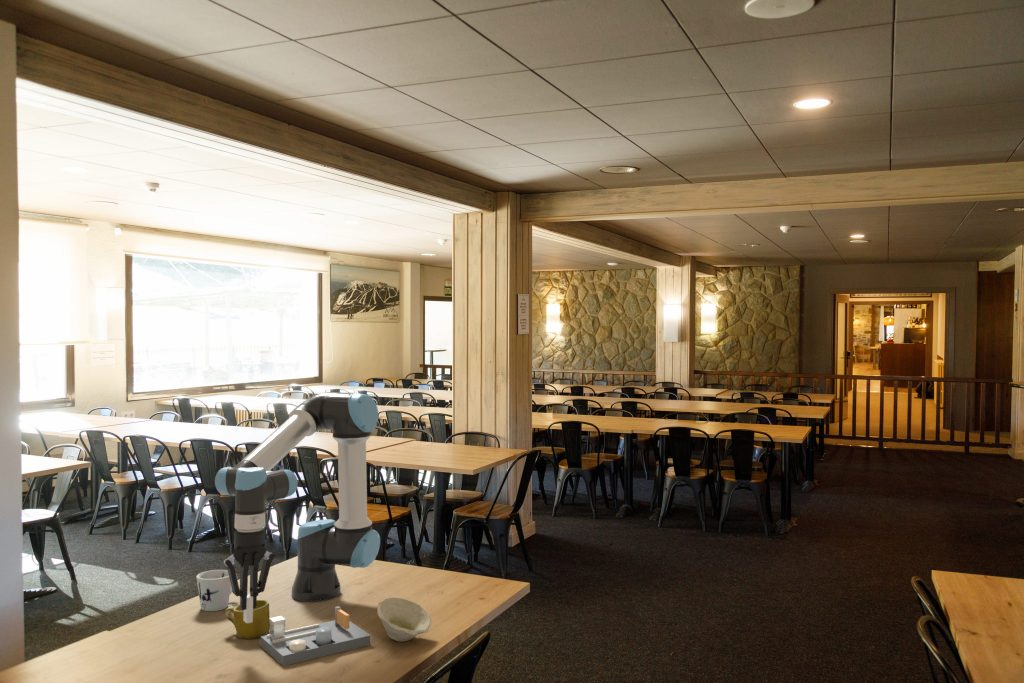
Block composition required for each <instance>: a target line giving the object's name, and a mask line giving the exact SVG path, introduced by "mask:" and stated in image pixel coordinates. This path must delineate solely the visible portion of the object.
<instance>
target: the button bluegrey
mask: <svg viewBox="0 0 1024 683" xmlns="http://www.w3.org/2000/svg"><path fill="white" fill-rule="evenodd" d="M331 642H332V629H331V628H328V627H323V628H318V629H317V630H316V645H319V646H323V645H327V644H331Z"/></svg>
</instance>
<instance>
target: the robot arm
mask: <svg viewBox="0 0 1024 683" xmlns="http://www.w3.org/2000/svg"><path fill="white" fill-rule="evenodd" d="M378 422H379V409H378V406H377V404H376V401H375V400H374V398H373V397H371V396H370V395H369V394H365V393H359V392H333V391H332V392H330V391H326V392H325V391H324V392H321V393H318V394H316V395H313V396H311V397H309V398H308V399H306V400H305V401H303V402H302V403H299V405H297V406H296V407H295V408H294V409H293V410H292V411H291V412H289V415H288V418H287V419H286V420H285V421H284V422H283V423H282V424H281V425H280V426H279V427H277V428H276V429H275V430H274V431H273V432H272V433H271V434H269V436H267V437H266V438H265V439H264V440H263V441H261V442H260V443H259V444H258V445H257V446H256V447H255V448H253V450H251V451H250V452H249V453H248V454H247V455H246V456H245V457H243V458H242V460H241V461H239V462H238V463H237V464H236V465H235V466H226V467H222V468H220V469H219V470H218V471H217V473H216V475H215V477H214V487H215V488H216V490H217V492H218V493H219V494H223V495H227V496H230V497H234V500H235V501H234V529H235V530H234V532H233V533H234V535H233V536H234V538H233V539H234V541H233V550H232V552H231V555H230V556H228V557H227V558H223V560H222V562H223V564H224V565H225V568H227V569H226V570H228V575H229V579H230V583H231V588H232V594H233V595H235V596H236V597H239V605H240V608H241V609H242V610H244V613H243V621H245V622H246V623H252V622H253V608H256V606H257V600H258V599H257V597H258V596H259V594H260V593H264V592H265V589H266V584H267V580H268V578H269V577H268V576H269V573H270V569H271V565H272V562H273V561H274V559H275V558H276V555H275V554H274V553H273V552H271V551H270V552H269V550H267V547H266V546H265V544H266V530H265V527H266V510H267V509H266V507H267V506H266V505H267V503H269V502H272V501H277V500H282V499H283V500H284V499H286V498H288V497H290V496H292V495H294V494H295V493H296V491H297V489H298V478H297V476H296V473H294V472H293V470H291V469H278V470H272V469H273V468H274V467H275V466H277V464H279V463H280V461H282V460H283V459H284V458H285V457H286V456H287V455H288V454H289V453H290V452H291V451H292V450H293V449H295V448H296V446H297V445H299V444H300V443H301V441H303V440H304V439H305V438H306V437H311V436H313V435H314V434H315V433H316V432H317V431H320V430H321V431H322V430H332V438H333V439H334V440H335V441H336V442H337V461H338V462H337V464H338V465H337V466H338V468H337V469H338V474H337V475H338V519H337V520H334V519H332V518H330V519H329V518H327V519H317V520H312V521H308V522H305V523H302V524H301V525H300V526H299V527H298V531H297V573H296V575H295V577H294V581H293V584H292V587H291V597H292V598H293V599H294V600H297V601H302V602H321V601H327V600H331V599H335V598H337V597H339V595H340V594H341V583H340V580H339V576H338V574H337V570H336V565H337V566H343V567H350V568H354V569H355V568H361V569H362V568H367V567H369V566H370V565H371V564H373V562H374V561H375V559H376V557H377V556H378V553H379V551H380V546H381V536H380V533H379V532H378V531H377V530H375V529H373V521H372V520H371V519H370V518H369V517H368V497H367V496H368V493H367V492H368V490H367V487H368V486H367V485H368V482H367V441H368V439H370V438H371V434H372V432H373V431H375V429H376V428H377V425H378ZM262 559H263V561H262ZM235 560H236V562H237V564H239V582H238V580H237V577H238V575H237V576H236V574H237V573H236V569H235V566H234V565H235ZM261 561H262V564H261V569H260V572H259V566H260V562H261ZM258 574H259V575H258ZM248 582H249V584H248ZM248 585H249V586H248ZM248 588H249V594H248Z"/></svg>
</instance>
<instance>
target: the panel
mask: <svg viewBox="0 0 1024 683" xmlns="http://www.w3.org/2000/svg"><path fill="white" fill-rule="evenodd" d="M323 627H328V628H331V629H332V642H331V644H327V645H323V646H319V645H316V630H317V629H318V628H323ZM298 639H301V640H305V641H306V650H302V651H298V652H293V653H292V652H291V651H290V642H291V641H293V640H298ZM371 640H372V636H371V634H369V633H368V632H367V631H365V630H364V629H362V628H360V627H359V626H357V625H356V624H355V623H353V622H351V621H350V620H349V629H345V628H344V627H342V626H341V625H339V626H336V625H335V619H334V620H331V621H327V622H326V621H325V622H321V623H315V624H311V625H306V626H302V627H301V626H300V627H298V628H297V627H296V628H292V629H288V630H285V637H284V638H280V639H275V640H272V639H271V638H270V633H267V634H265V635H263V636H260V647H261V648H262V649H263V650H265V651H266V652H267V654H269V655H270V656H271V657H272V658H273V659H275V661H277V662H278V663H279V664H280V665H281V666H282V667H285V666H288V665H292V664H296V663H300V662H305V661H309V660H314V659H317V658H321V657H325V656H329V655H334V654H338V653H341V652H342V653H343V652H347V651H350V650H353V649H359V648H363V647H366V646H370V645H372V644H371V642H372V641H371Z"/></svg>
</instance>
